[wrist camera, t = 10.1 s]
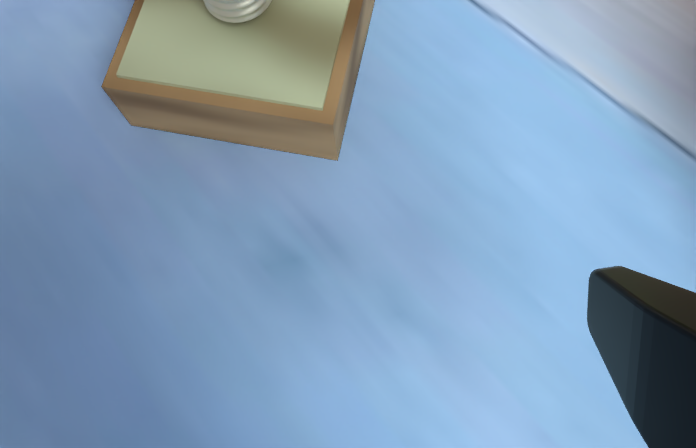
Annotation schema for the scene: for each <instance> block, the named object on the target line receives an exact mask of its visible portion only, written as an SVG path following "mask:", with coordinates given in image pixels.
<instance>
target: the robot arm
mask: <svg viewBox="0 0 696 448" xmlns="http://www.w3.org/2000/svg"><path fill="white" fill-rule="evenodd" d="M587 322H588V327H589V331H590V333H591V336H592V338H593V340H594V342H595V344H596V346H597V348H598V350H599V352H600V355H601V357H602V359H603V361H604V363H605V365H606V367H607V369H608V371H609V373H610V376H611V378H612V380H613V382H614V384H615V386H616V388H617V390H618V392H619V394H620V397H621V399H622V401H623V403H624V405H625V407H626V409H627V411H628V413H629V415H630V417H631V419H632V421H633V422H634V424H635V426H636V427H637V429H638V431H639V433H640V434H641V436H642V438H643V439H644V441H645V442H646V444H647V446H648V447H649V448H696V293H695V292H692V291H689V290H686V289H683V288H681V287H678V286H675V285H672V284H670V283H667V282H664V281H661V280H658V279H656V278H653V277H650V276H647V275H645V274H642V273H639V272H636V271H633V270H631V269H628V268H625V267H622V266H614V267H608V268H601V269H596V270H594V271H593V272H592V273H591V274H590V277H589V288H588V308H587Z"/></svg>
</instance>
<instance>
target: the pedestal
mask: <svg viewBox="0 0 696 448" xmlns="http://www.w3.org/2000/svg"><path fill="white" fill-rule="evenodd" d="M374 2H375V0H272V1H271V3H270V5H269V6H268V8H267V9H266V10H265V11H264V12H263V13H262V14H261V15H259V16H258V17H256V18H254V19H252V20H249V21H246V22H240V23H231V22H225V21H222V20H220V19H218V18H216V17H214V16H213V15H212V14H211V13H210V12H209V11H208V9H207V8H206V5H205V3H204V1H203V0H135V2H134V4H133V7H132V10H131V12H130V15H129V17H128V20H127V22H126V25H125V27H124V30H123V33H122V35H121V38H120V40H119V43H118V45H117V48H116V51H115V53H114V56H113V58H112V61H111V63H110V66H109V69H108V71H107V74H106V76H105V79H104V81H103V84H102V86H101V87H102V88H103V90H104V91H105V92H106V93H107V95H108V96H109V97H110V98H111V100H112V101H113V102H114V104H115V105H116V106H117V107H118V109H119V110H120V111H121V113H122V114H123V115H124V116H125V118H126V119H127V120H128V122H129V123H130V124H131V125H133V126H138V127H144V128H150V129H156V130H162V131H168V132H174V133H179V134H185V135H191V136H197V137H203V138H209V139H214V140H220V141H226V142H232V143H238V144H244V145H249V146H255V147H261V148H267V149H273V150H279V151H284V152H290V153H296V154H302V155H308V156H314V157H320V158H325V159H331V160H337V161H338V157H339V153H340V148H341V144H342V140H343V135H344V131H345V127H346V123H347V118H348V114H349V110H350V105H351V101H352V97H353V92H354V88H355V84H356V80H357V75H358V71H359V67H360V62H361V58H362V54H363V50H364V45H365V41H366V37H367V32H368V28H369V24H370V20H371V15H372V11H373V7H374Z"/></svg>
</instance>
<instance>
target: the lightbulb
mask: <svg viewBox="0 0 696 448" xmlns="http://www.w3.org/2000/svg"><path fill="white" fill-rule="evenodd" d="M203 1H204V3H205V5H206V8H207V9H208V11H209V12H210V13H211V14H212V15H213V16H214V17H216V18H218V19H220V20H222V21H225V22H231V23H240V22H246V21H249V20H252V19H254V18H256V17H258V16H259V15H261V14H262V13H263V12H264V11H265V10H266V9H267V8H268V6H269V5H270V3H271V1H272V0H203Z"/></svg>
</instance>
